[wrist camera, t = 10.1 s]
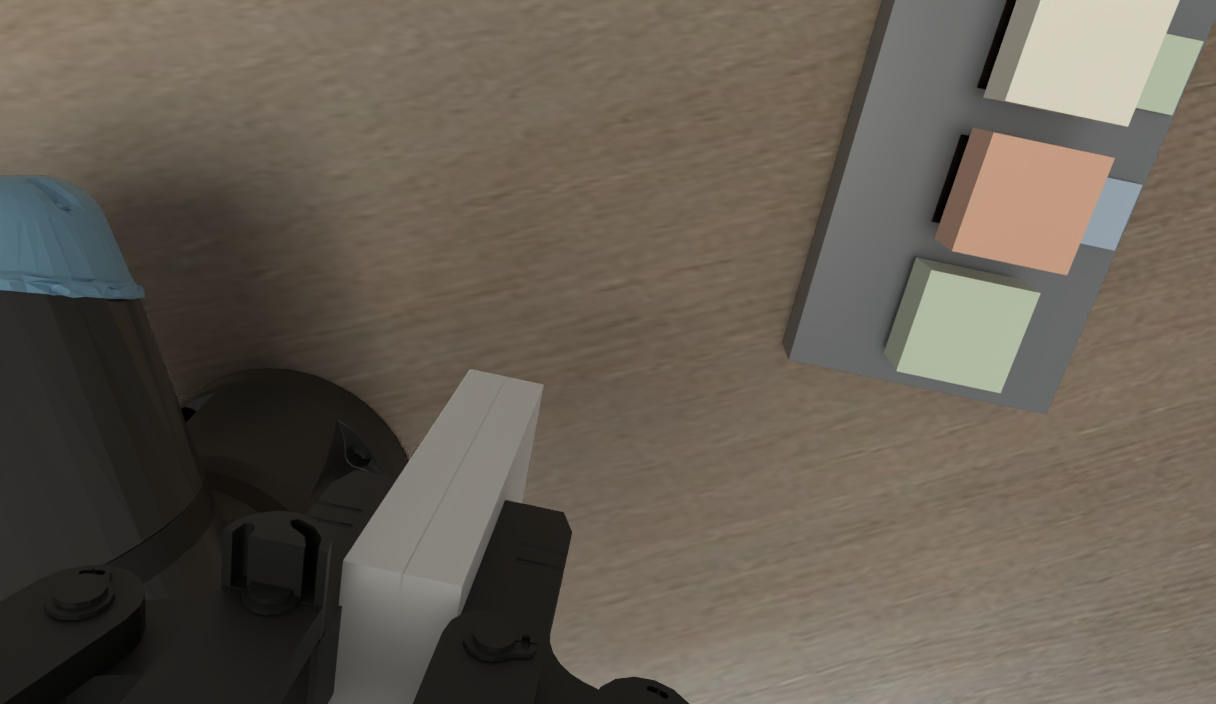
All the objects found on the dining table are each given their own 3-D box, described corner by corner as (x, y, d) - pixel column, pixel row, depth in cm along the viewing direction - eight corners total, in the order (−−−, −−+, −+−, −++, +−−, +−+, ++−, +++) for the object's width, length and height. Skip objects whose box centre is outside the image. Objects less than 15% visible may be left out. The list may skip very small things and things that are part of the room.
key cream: (1070, 117, 36) (1127, 126, 31) (963, 94, 36) (1004, 100, 31) (1115, 0, 34) (1183, -8, 30) (1002, -23, 34) (1052, -35, 30)
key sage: (964, 356, 42) (1000, 393, 37) (872, 336, 42) (896, 371, 37) (998, 265, 40) (1040, 293, 35) (902, 245, 40) (931, 270, 35)
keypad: (1026, 395, 43) (1051, 419, 40) (782, 343, 43) (790, 364, 40) (1260, -172, 34) (1314, -194, 31) (950, -236, 34) (976, -264, 31)
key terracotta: (1020, 248, 38) (1066, 275, 33) (918, 227, 38) (951, 251, 33) (1059, 145, 36) (1115, 157, 32) (953, 122, 36) (993, 132, 32)
